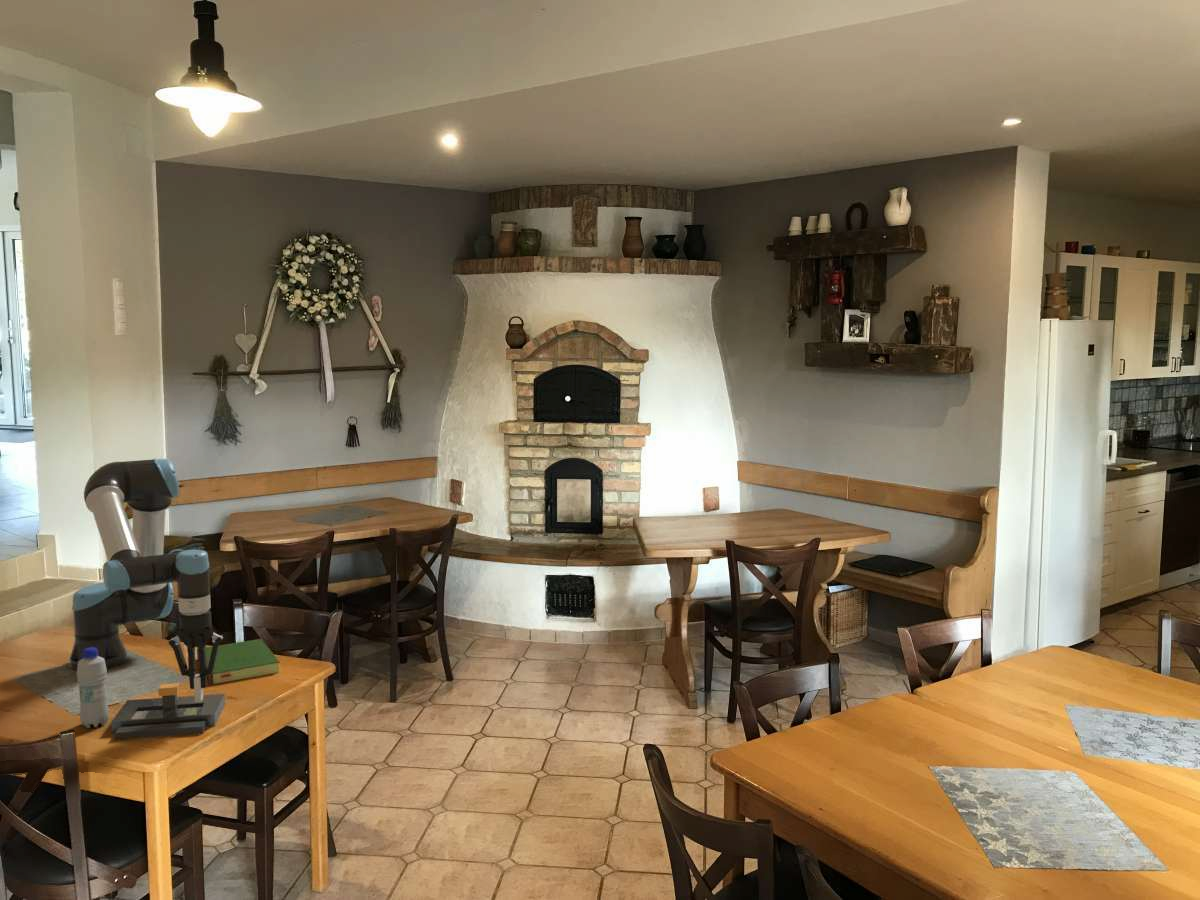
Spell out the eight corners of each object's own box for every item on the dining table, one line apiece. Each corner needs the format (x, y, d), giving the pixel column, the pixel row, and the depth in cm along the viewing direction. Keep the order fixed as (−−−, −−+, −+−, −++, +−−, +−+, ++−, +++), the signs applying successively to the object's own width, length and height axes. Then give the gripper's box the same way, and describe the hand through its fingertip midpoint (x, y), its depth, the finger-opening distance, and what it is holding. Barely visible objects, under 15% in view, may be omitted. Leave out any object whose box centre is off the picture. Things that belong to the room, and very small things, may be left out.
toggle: (162, 710, 242) (161, 684, 241) (180, 708, 242) (179, 683, 242) (159, 714, 239) (158, 688, 238) (178, 713, 240) (176, 687, 239)
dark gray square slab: (139, 706, 248) (138, 699, 248) (219, 700, 252) (219, 694, 252) (115, 740, 228) (114, 732, 228) (202, 733, 232) (202, 726, 232)
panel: (127, 711, 245) (127, 699, 245) (225, 704, 250) (224, 692, 250) (111, 733, 232) (110, 721, 231) (214, 725, 236) (214, 713, 236)
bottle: (97, 731, 233) (92, 653, 230) (73, 728, 234) (68, 651, 232) (116, 720, 239) (111, 644, 237) (93, 717, 241) (88, 642, 238)
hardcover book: (197, 660, 285) (196, 649, 284) (261, 650, 294) (261, 638, 294) (212, 687, 264) (211, 674, 263) (280, 674, 273) (280, 662, 273)
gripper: (163, 617, 234) (168, 707, 237) (219, 614, 237) (223, 703, 239) (170, 608, 241) (175, 696, 244) (224, 605, 244) (228, 693, 247)
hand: (199, 700), depth 242 cm, fingers closed
